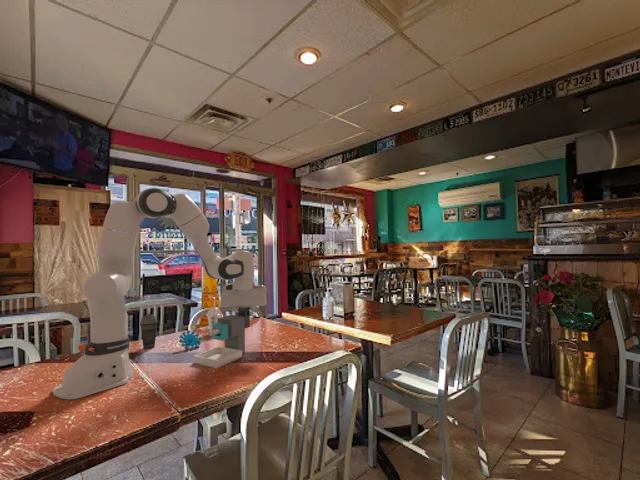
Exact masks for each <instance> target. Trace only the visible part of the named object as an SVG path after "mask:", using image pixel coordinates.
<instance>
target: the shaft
mask: <svg viewBox="0 0 640 480" xmlns="http://www.w3.org/2000/svg"><path fill="white" fill-rule="evenodd" d="M237 307H238V310H237V312H239V314H238V315H239V316H244V317H245V329H248V328H250V326H251V322H250V321H251V319H250V317H251V316H249V312H250V310H251V306H237ZM219 333H220V329H215V330H212V331H210V330H209V331H208V333H207V335H208V336H209V337H212V336H213V335H216V334H219Z"/></svg>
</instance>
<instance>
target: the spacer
mask: <svg viewBox="0 0 640 480" xmlns="http://www.w3.org/2000/svg"><path fill="white" fill-rule="evenodd" d="M215 329H220V333H219V334H216V335H213V336H211V337H212V340H217V341H222V342H225V340H227V339H228V324H223V323H215V324H212V330H215Z"/></svg>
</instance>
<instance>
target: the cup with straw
mask: <svg viewBox="0 0 640 480" xmlns="http://www.w3.org/2000/svg"><path fill="white" fill-rule="evenodd" d="M207 296H208V297H209V298H211V299H213V307H211V308H210V309H208V311H207V313H206V315H205V316H206V317H207V322H208V328H209V331H212V324H215V323H218V318H221V317H222V316H224V315H223V312H222V311H221V309H220V308H218V307H216V297H214V296H212V295H207Z"/></svg>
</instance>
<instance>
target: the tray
mask: <svg viewBox="0 0 640 480" xmlns="http://www.w3.org/2000/svg"><path fill="white" fill-rule="evenodd" d="M242 358H243V354H242V350H238V349H233V348H228V347H225V346H221V345H219V346H216V347H213V348H210V349H208V350H205V351H202V352H200V353H197V354H194V355H193V358H192V359H193V361H192V362H193V364H194V365H199V366H203V367H206V368H207V367H208V368H211V369H215V370H218V369H220V368H222V367H225V366H226V365H227V366H228V365H229V364H231V363H233V362H235V361H238V360H239V359H242Z"/></svg>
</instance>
